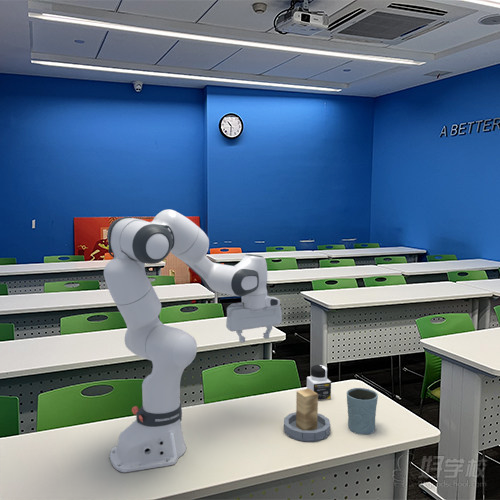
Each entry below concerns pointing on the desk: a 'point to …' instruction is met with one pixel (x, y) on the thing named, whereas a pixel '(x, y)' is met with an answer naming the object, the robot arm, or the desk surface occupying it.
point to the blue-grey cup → (361, 410)
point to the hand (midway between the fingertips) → (254, 340)
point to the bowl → (306, 435)
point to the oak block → (306, 409)
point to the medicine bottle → (319, 382)
